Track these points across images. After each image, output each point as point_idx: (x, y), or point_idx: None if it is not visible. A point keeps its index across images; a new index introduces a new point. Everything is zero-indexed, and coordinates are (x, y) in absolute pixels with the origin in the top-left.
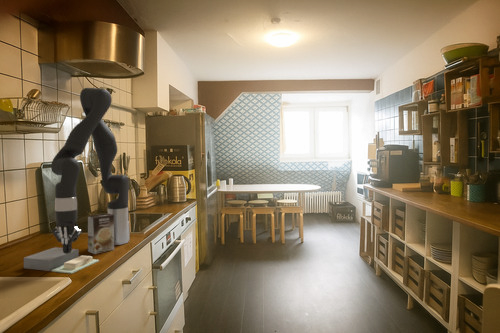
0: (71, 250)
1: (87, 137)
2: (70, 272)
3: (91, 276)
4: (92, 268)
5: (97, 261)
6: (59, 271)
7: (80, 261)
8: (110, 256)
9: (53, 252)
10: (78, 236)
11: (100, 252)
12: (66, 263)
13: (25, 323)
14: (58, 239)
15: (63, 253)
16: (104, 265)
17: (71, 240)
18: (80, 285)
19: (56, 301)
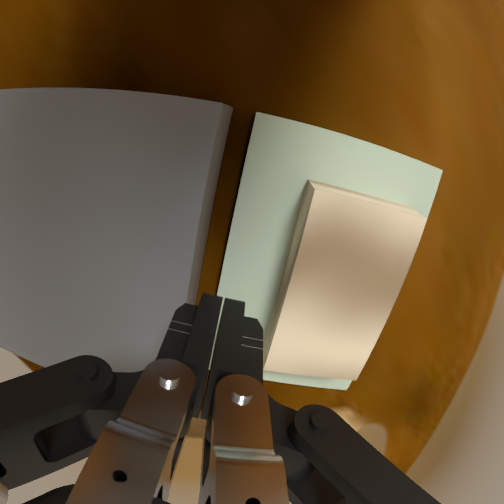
0: (259, 323)
1: None
2: (339, 388)
3: (443, 392)
4: (433, 311)
5: (433, 187)
6: (263, 376)
7: (374, 340)
8: (468, 60)
9: (40, 236)
10: (400, 479)
11: None
12: (285, 371)
13: None
14: (85, 437)
15: (148, 263)
16: (485, 259)
17: (312, 482)
18: (417, 445)
19: None
